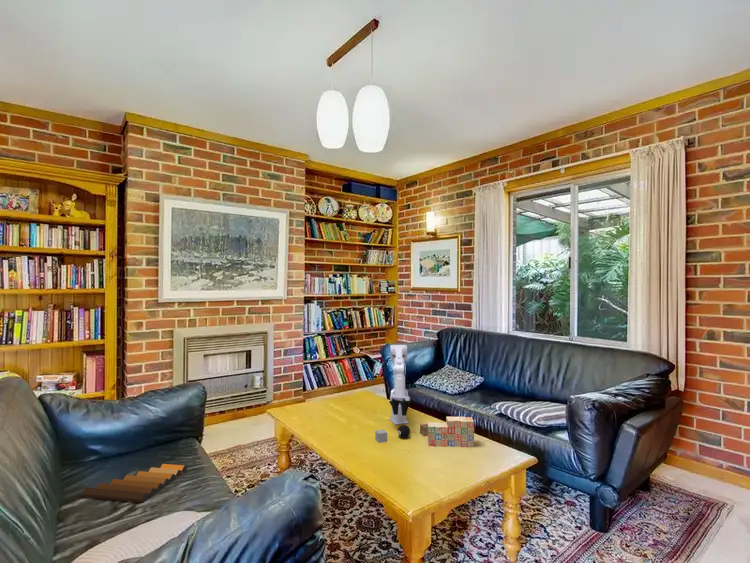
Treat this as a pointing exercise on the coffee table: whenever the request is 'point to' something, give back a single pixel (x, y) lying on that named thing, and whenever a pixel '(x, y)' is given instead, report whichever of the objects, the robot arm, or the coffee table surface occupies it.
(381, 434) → the grey block
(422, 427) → the walnut block
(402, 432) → the billiard ball
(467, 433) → the stack of blocks
